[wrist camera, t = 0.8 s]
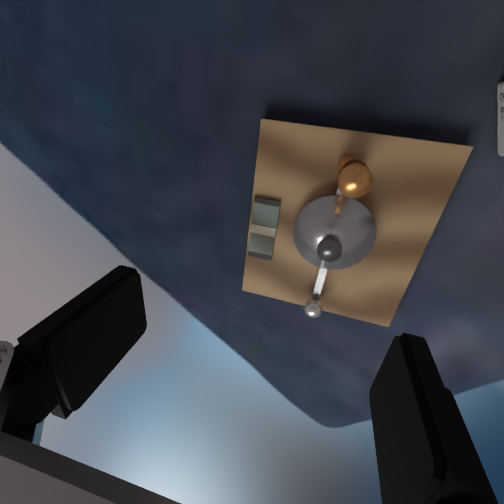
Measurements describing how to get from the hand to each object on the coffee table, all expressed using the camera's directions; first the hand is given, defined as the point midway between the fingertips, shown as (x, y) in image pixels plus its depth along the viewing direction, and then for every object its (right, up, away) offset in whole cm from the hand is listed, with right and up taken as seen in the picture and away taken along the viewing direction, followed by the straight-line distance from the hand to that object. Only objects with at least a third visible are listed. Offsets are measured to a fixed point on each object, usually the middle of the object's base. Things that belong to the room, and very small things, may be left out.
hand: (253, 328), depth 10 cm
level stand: (+9, +5, +20) cm, 22 cm away
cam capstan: (+8, +4, +19) cm, 21 cm away
